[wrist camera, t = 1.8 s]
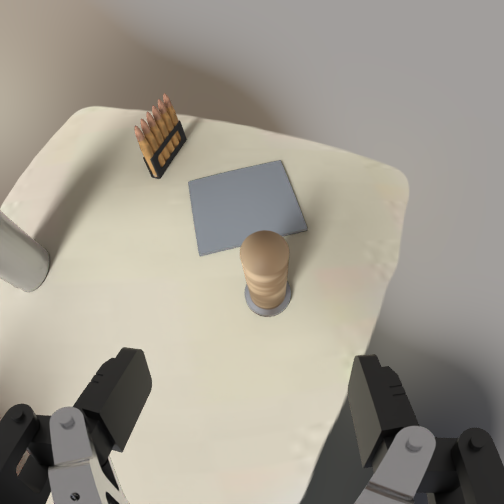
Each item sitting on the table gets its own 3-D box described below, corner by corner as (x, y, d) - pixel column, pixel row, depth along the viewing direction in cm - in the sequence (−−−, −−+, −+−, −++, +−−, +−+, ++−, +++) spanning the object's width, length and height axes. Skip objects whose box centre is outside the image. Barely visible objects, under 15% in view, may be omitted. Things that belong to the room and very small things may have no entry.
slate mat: (200, 256, 43) (199, 254, 42) (188, 183, 49) (188, 181, 48) (307, 230, 43) (307, 228, 43) (280, 162, 49) (280, 160, 49)
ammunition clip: (159, 179, 50) (136, 130, 39) (151, 177, 50) (127, 129, 40) (186, 139, 54) (171, 90, 43) (179, 138, 55) (162, 90, 44)
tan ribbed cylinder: (251, 321, 38) (239, 289, 26) (241, 279, 41) (226, 232, 29) (295, 310, 38) (305, 272, 26) (283, 269, 41) (286, 218, 29)
